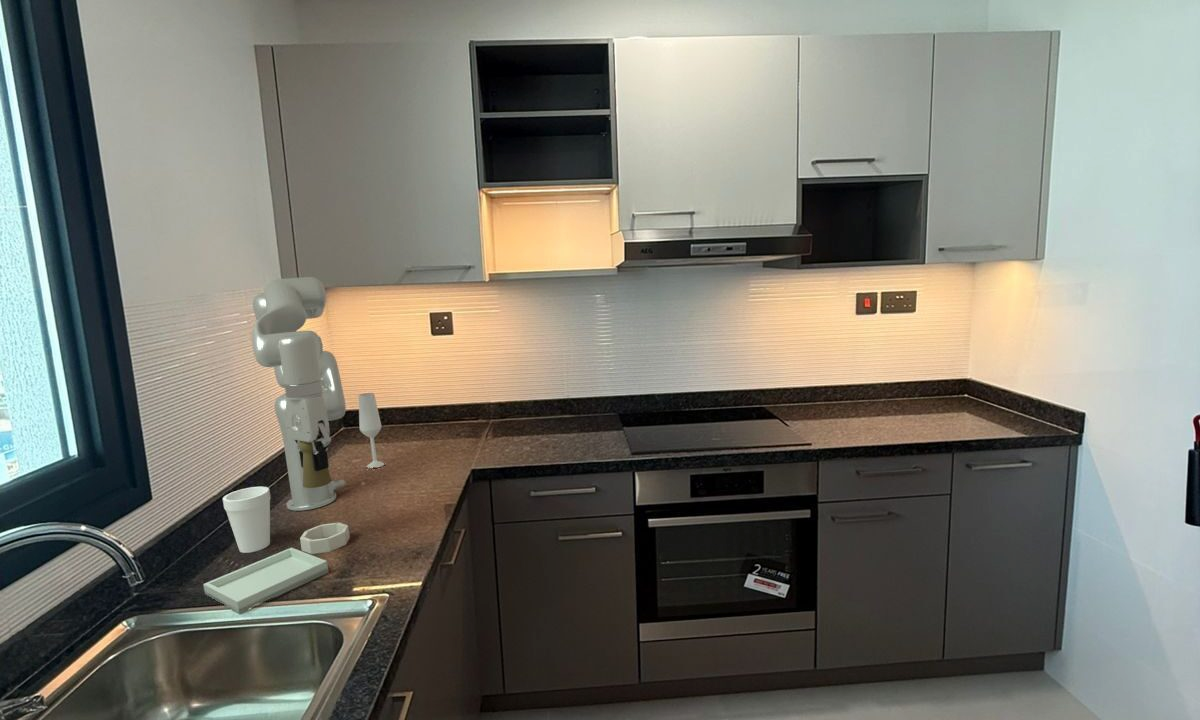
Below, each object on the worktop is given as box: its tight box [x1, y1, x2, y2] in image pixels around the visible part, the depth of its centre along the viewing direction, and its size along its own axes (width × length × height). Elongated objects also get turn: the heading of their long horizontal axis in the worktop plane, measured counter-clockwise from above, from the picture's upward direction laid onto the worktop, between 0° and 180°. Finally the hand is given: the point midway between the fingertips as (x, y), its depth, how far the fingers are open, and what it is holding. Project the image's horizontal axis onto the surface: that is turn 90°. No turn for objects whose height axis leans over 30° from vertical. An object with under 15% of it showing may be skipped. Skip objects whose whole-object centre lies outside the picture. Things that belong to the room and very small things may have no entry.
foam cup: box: [222, 486, 272, 554], centre depth 145 cm, size 10×9×13 cm
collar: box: [299, 522, 351, 555], centre depth 145 cm, size 10×10×3 cm
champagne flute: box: [358, 392, 385, 468], centre depth 202 cm, size 7×7×24 cm
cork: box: [299, 436, 333, 488], centre depth 142 cm, size 6×6×11 cm
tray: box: [203, 547, 329, 615], centre depth 127 cm, size 18×14×2 cm
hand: (315, 466), depth 142 cm, fingers closed on cork, 4 cm apart
